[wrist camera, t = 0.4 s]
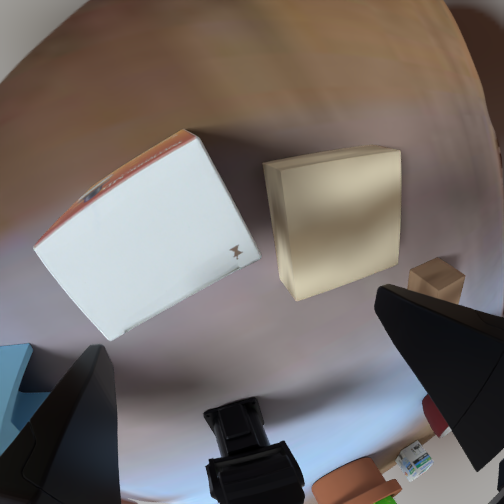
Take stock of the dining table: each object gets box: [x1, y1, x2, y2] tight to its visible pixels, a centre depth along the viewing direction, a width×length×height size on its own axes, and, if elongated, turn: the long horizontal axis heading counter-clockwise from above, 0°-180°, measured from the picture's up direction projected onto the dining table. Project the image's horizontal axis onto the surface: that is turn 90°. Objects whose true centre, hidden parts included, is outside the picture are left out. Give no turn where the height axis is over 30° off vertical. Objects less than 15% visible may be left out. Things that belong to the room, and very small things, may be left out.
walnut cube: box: [407, 257, 465, 304], centre depth 30 cm, size 5×5×5 cm
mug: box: [422, 394, 452, 438], centre depth 47 cm, size 11×8×10 cm
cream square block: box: [262, 145, 401, 302], centre depth 23 cm, size 10×10×4 cm
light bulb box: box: [395, 440, 434, 482], centre depth 64 cm, size 11×7×11 cm, turn 12°
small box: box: [33, 129, 262, 341], centre depth 15 cm, size 8×6×10 cm
